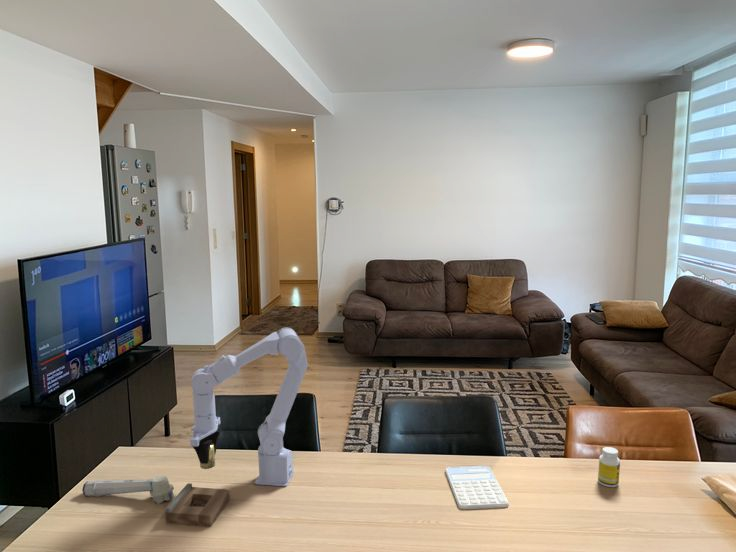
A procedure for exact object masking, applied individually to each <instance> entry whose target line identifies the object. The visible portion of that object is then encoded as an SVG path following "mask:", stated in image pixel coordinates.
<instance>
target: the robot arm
mask: <svg viewBox="0 0 736 552" xmlns="http://www.w3.org/2000/svg"><path fill="white" fill-rule="evenodd" d="M279 353H280V354H281V355H282V356H283V357H284V358H286V360H287V361H288V366H287V370H286V371H285V375H284V378H283V380H282V382H281V384H280V387H279V390H278V393H277V395H276V397H275V400H274V403H273V405H272V407H271V410H270V413H269V414H268V415H267V416H266V417H265V420H264V421H263V423H261V425H259V427H258V429H257V436H258V439H259V444H260V445H259V446H258V448H257V456H258V477H257V478H256V480H255V481H254V485H261V486H262V485H263V486H276V487H286V486H288V484H289V482H290V480H291V479H292V478H293V475H294V473H295V471H294V459H293V451H292V450H290V449H287V448H285V447H284V439H283V438H284V435H285V433H286V432H285V431H286V422H287V419H288V418H289V415H290V412H291V409H292V407H293V405H294V403H295V399H296V397H297V394H298V392H299V390H300V387H301V384H302V382H303V380H304V376H305V374H306V372H307V369H308V365H309V363H308V358H307V354H306V347H305V345H304V343H303V342H302V340H301V339H300V337H299V336H298V333H296V331H295V330H294V329H292V327H282V328H280V329H278V330H277V331H274V332H271V333H270V334H269V335H267V336H266V337H264V338H262V339H261V340H259V341H257V342H256V343H254V344H253V345H251V346H249V347H248V348H246V349H244V350H243V351H241V352H239V353H238V354H236V355H232V354H228V355H226V356H225V355H224V354H223V355H221V356H220V357H219V360H216V361H214V362H213V363H211V364H209V365H208V364H206V365H204V366H203V368H198V369H196V370H195V371H194V372H193V374H192V376H191V389H192V405H193V406H192V407H193V418H194V425H193V426H192V427H191V428H190V430H191V432H193V433H192V437H191V438H190V440H189V441H190V442H189V443H190V447H192V448H193V449H194V451H195V453H196V455H197V457H198V461H199V464H200V463H203V464H207V463H208V461H209V450H210V445H211V443H214V454H215V455H216V453H217V447H218V442H219V438H220V437H221V436H220V435H221V433H222V431H223V430H222V427H219V426H220V424H221V417H220V416H217V414H216V413H217V412H216V398H215V394H214V388H215V387H216V386H217V385H219V384H221V383H223V382H225V381H227V380H229V379H231V378H232V377H234V376H236V375H238V374H239V373H240V370H241V367H243V366H245V365H247V364H249V363H252V362H253V361H255V360H257V359H259V358H261V357H263V356H265V355H273V356H279Z"/></svg>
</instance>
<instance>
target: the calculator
mask: <svg viewBox="0 0 736 552" xmlns="http://www.w3.org/2000/svg"><path fill="white" fill-rule="evenodd" d="M445 475H446V478H447V481H448V482H449V486H450V488H451V490H452V491H451V492H452V493H453V496H454V498H455V501H456V504H457V506H458V508H459V509H461V510H476V509H477V510H478V509H479V510H480V509H500V508H503V509H504V508H508V507H509V506H510V503H509V500H508V498H507V496H506V495H505V493H504V491H503V489H502V487H501V485H500V483H499V481H498V480H497V477H496V476H495V474H494V472H493V470H492V469H491V467H490V466H489V465H475V466H474V465H472V466H470V465H469V466H450V467H446V468H445Z"/></svg>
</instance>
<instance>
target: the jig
mask: <svg viewBox="0 0 736 552" xmlns="http://www.w3.org/2000/svg"><path fill="white" fill-rule="evenodd" d="M230 499H231V498H230V489H224V488H210V487H198V486H197V487H196V486H193V484H192V483H191V482H190V483H188V482H187V484H186V485H184V487H183V488H182V490H180V492H179V493H178V494H177V495H175V496H174V498H173V500H172V501H170V503H169V504H168V505H167V506H166V508H165V512H164V515H165V517H164V518H165V523H166V524H172V525H173V524H174V525H184V526H196V527H212V526H213V524H214V523H215V521H216V520H217V519H218V517H219V516H220V514H221V513H222V512H223V510H224V509H225V507H226V506H227V504H229V501H230ZM198 504H199V505H201V506H199V505H198ZM194 505H198V506H194ZM202 506H203V507H202Z"/></svg>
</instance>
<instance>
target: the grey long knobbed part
mask: <svg viewBox="0 0 736 552" xmlns="http://www.w3.org/2000/svg"><path fill="white" fill-rule="evenodd" d="M174 488H175V487H174V485H173V484H171V483H170V482H169V479H168V478H167V476H166V475H160V476H157V477H154V478H149V479H147V478H146V479H142V478H141V479H106V480H105V479H100V478H98V479H96V480H89V481H86V482H85V483H83V486H82V489H81V490H82V495H83V496H85V497H96V498H99V497H100V496H110V495H120V494H132V493H143V492H149V495H150V497H152V501H153V502H155V503H157V504H160V503H164V501H168V502H169V501H170V500H172V499H174V498H173V497H175V496H174V495H175V494H174Z"/></svg>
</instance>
